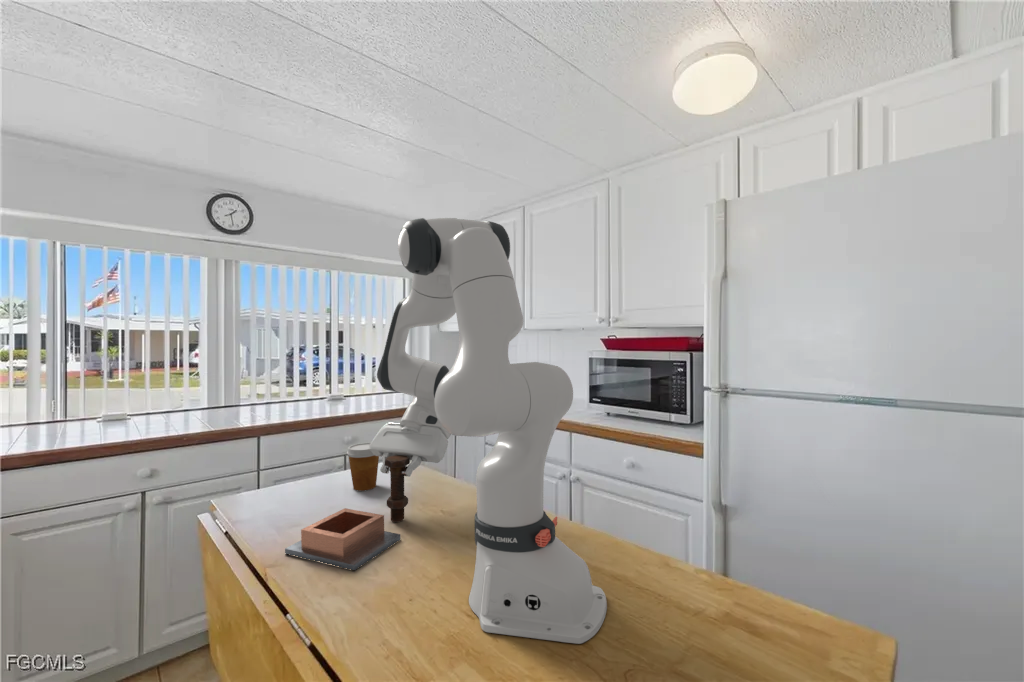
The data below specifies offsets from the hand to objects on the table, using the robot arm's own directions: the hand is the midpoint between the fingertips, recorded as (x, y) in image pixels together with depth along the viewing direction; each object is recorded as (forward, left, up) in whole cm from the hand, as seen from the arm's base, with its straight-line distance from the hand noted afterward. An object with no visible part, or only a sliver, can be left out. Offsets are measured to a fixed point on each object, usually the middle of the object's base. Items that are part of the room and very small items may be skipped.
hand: (394, 473), depth 107 cm
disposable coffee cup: (+24, -17, -12) cm, 31 cm away
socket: (+2, +14, -11) cm, 18 cm away
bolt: (0, -1, -12) cm, 12 cm away
